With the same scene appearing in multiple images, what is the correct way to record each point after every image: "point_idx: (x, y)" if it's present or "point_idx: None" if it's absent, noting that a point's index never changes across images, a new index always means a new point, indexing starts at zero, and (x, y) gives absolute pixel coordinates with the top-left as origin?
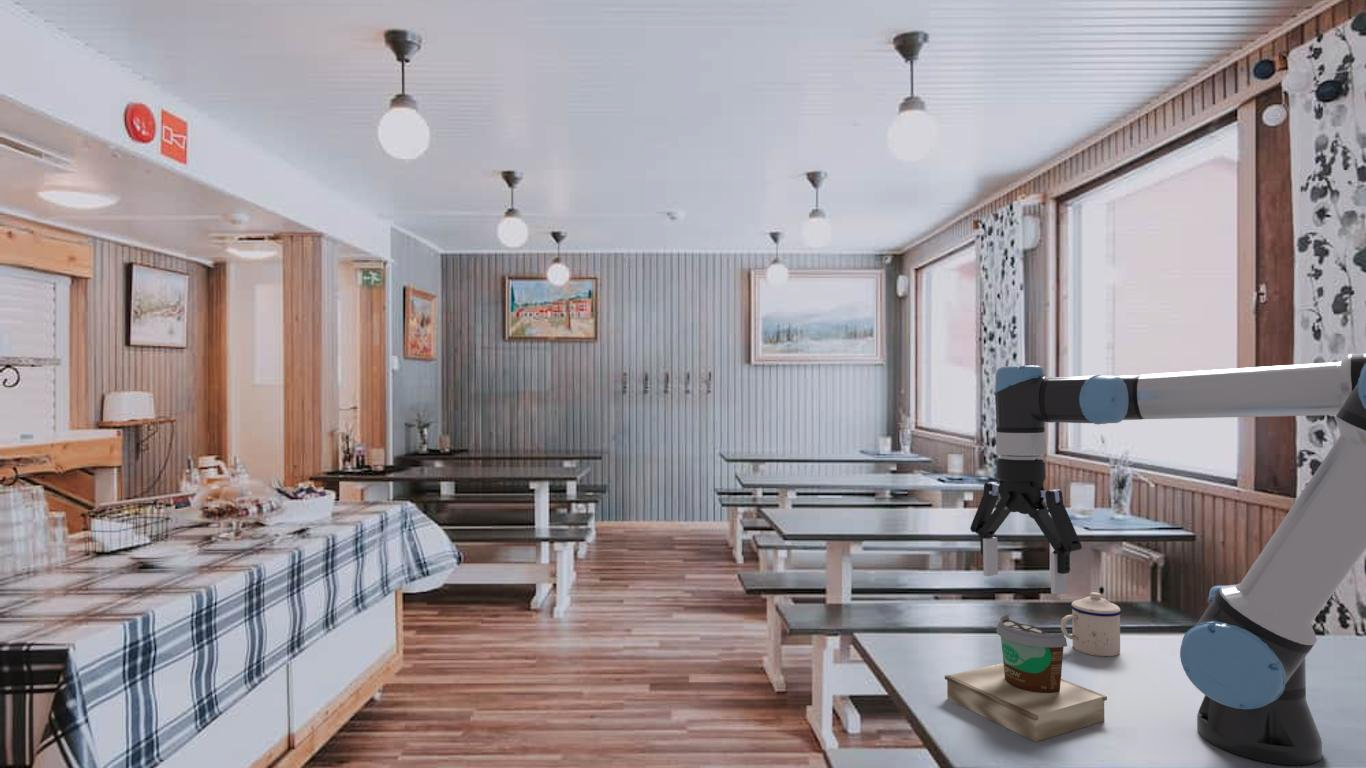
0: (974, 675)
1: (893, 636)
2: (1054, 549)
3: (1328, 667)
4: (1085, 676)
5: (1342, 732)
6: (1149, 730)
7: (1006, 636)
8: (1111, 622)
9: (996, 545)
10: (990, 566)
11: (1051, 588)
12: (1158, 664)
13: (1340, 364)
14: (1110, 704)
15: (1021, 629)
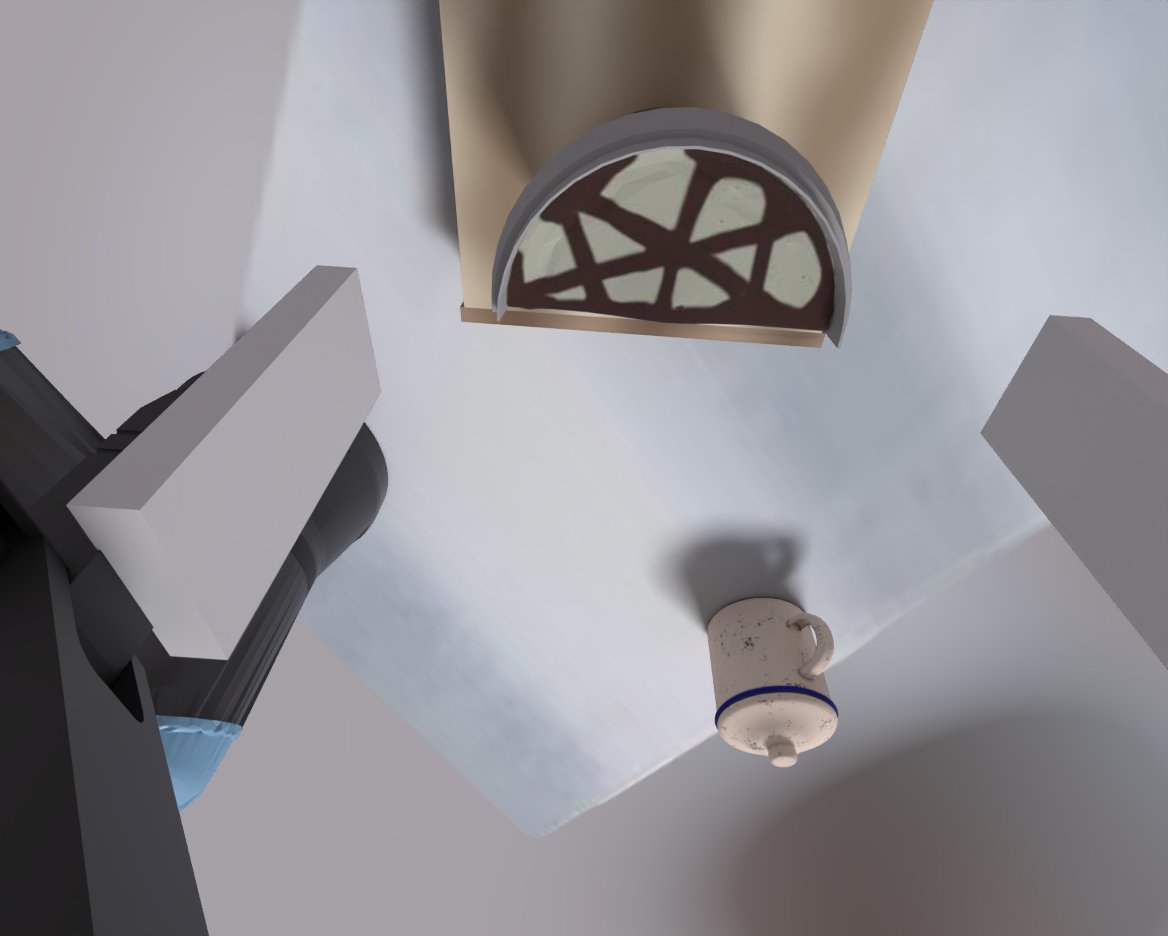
0: (858, 57)
1: None
2: (30, 559)
3: (477, 759)
4: (687, 492)
5: None
6: (395, 329)
7: (720, 117)
8: (721, 689)
9: (1155, 629)
10: (1074, 404)
11: (335, 284)
12: (629, 638)
13: None
14: (546, 393)
15: (694, 243)
